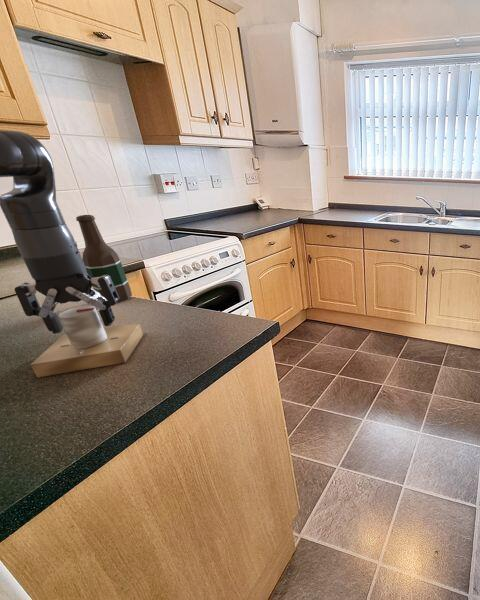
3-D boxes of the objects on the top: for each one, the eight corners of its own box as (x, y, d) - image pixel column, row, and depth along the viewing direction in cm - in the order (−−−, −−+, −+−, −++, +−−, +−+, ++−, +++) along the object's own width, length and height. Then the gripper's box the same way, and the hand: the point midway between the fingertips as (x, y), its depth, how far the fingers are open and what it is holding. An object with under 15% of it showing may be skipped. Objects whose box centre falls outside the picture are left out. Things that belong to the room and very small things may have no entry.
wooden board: (37, 377, 64) (29, 363, 62) (68, 346, 74) (62, 333, 73) (125, 362, 68) (120, 349, 67) (143, 334, 78) (139, 323, 77)
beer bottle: (99, 298, 99) (65, 215, 89) (131, 291, 103) (103, 212, 93) (99, 306, 93) (63, 219, 83) (133, 299, 98) (103, 215, 88)
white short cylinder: (66, 351, 67) (51, 318, 64) (80, 337, 71) (66, 306, 68) (101, 345, 68) (87, 313, 65) (111, 333, 73) (99, 302, 70)
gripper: (-16, 260, 57) (28, 343, 63) (88, 251, 61) (119, 330, 68) (13, 249, 63) (50, 326, 70) (105, 242, 67) (132, 314, 74)
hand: (84, 328), depth 69 cm, fingers open, 8 cm apart
